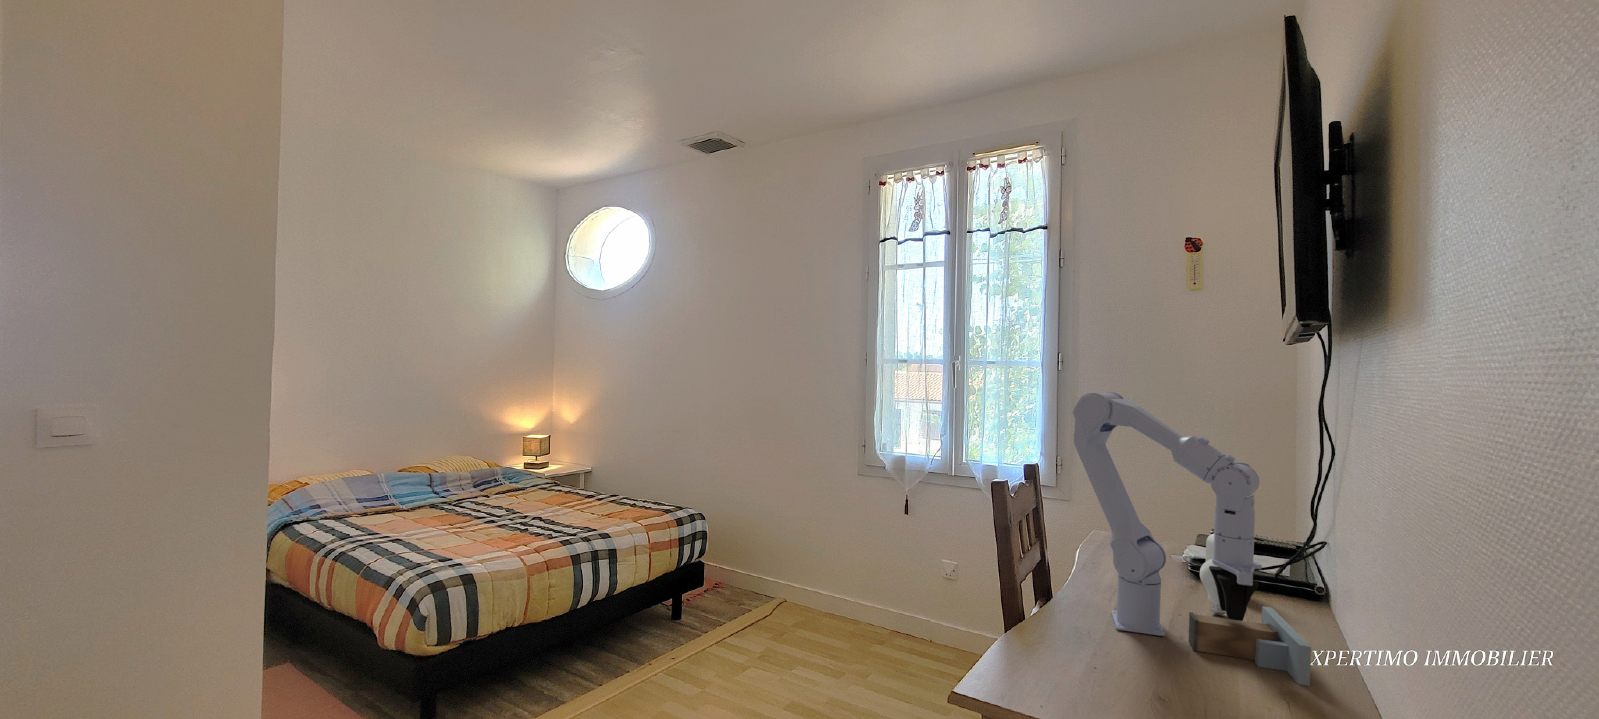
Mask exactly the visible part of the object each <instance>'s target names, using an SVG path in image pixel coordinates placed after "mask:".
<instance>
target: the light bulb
mask: <svg viewBox="0 0 1599 719" xmlns="http://www.w3.org/2000/svg"><path fill="white" fill-rule="evenodd" d="M1209 566H1216V565H1215V564H1213V563H1212V559H1210V560H1208V561H1206V560H1205V562H1204V563H1203V564H1202V565H1201V566H1200V569H1199V577H1200V578H1199V579H1200V581H1201V583H1202V585H1203V587H1204V588H1205V590H1206V592H1207V595H1208V601H1209V602H1210V603H1209V611H1210V612H1211V613H1213V614H1214V615H1216V616H1223V615H1227V614H1226V611H1222V610H1221V607H1220V603H1219V598H1218V593H1217V588H1216V584H1215V581H1214V578H1213V576H1212V573H1211V571H1210V569H1209ZM1216 567H1219V566H1216Z"/></svg>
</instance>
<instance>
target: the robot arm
mask: <svg viewBox="0 0 1599 719" xmlns="http://www.w3.org/2000/svg"><path fill="white" fill-rule="evenodd" d="M1072 414H1073V417H1074V431H1073V432H1074V434H1073V443H1074V447H1075V450H1076V453H1077V455H1078V457H1079V459H1080V461H1081V464H1082V465H1083V468H1084V470H1085V472H1086V476H1087V477H1088V480H1089V482H1090V484H1091V487H1092V489H1093V491H1094V493H1095V496H1096V497H1097V500H1098V502H1099V504H1100V507H1101V509H1102V511H1103V514H1104V516H1105V518H1106V521H1107V523H1108V526H1109V527H1110V530H1111V535H1110V542H1109V544H1110V548H1111V549H1112V554H1113V556H1112V557H1113V558H1112V562H1113V567H1114V570H1116V572H1117V586H1116V587H1117V589H1116V590H1117V592H1116V593H1117V594H1116V610H1114V609H1113V610H1112V609H1111V611H1110V612H1111V616H1112V619H1113V623H1114V626H1115V629H1116V630H1119V631H1125V632H1132V633H1139V634H1147V635H1150V636H1151V635H1153V636H1159V637H1166V633H1165V630H1164V629H1163V626H1162V624H1161V623H1160V622H1161V598H1162V597H1161V596H1162V595H1161V594H1162V593H1161V589H1162V577H1161V574H1160V571H1161V570H1162V569H1164V567H1165V565H1166V563H1167V554H1166V551H1165V549H1164V548H1163V546H1162V545H1161V544H1160V543H1159V542H1158V541H1157V540H1156V539H1155V538H1154V537H1153V535H1152V532H1151V531H1150V530H1149V528H1148V527H1146V525H1144V524H1143V523H1142V522H1141V521H1140V518H1139V516H1138V513H1137V512H1136V509H1135V507H1134V504H1133V503H1132V501H1131V498H1130V495H1129V494H1128V491H1127V490H1126V487H1125V485H1124V482H1123V481H1122V477H1121V476H1120V474H1119V472H1118V469H1117V466H1116V465H1115V463H1114V460H1113V458H1112V456H1111V454H1110V452H1109V449H1108V447H1107V443H1108V442H1107V441H1108V439H1109V438H1110V436H1111V434H1112V432H1113V430H1114V429H1115V428H1116V427H1118V426H1121V427H1131V428H1133V429H1134V430H1136V431H1138V432H1139V433H1141V434H1143V435H1144V436H1146V437H1147V438H1149V439H1151V440H1153V441H1154V442H1156V443H1157V444H1159V445H1161V446H1162V447H1164V448H1165V449H1167V450H1169V451H1170V452H1171V455H1172V458H1173V461H1174V462H1175V463H1176V464H1178V465H1179V466H1181V467H1182V468H1184V469H1185V470H1187V471H1188V472H1190V473H1191V474H1192V475H1194V476H1196V477H1198V478H1199V479H1201V480H1202V481H1204V483H1207V484H1210V487H1211V490H1212V491H1213V492H1214V494H1215V506H1214V532H1213V534H1214V556H1213V557H1212V563H1213V564H1215V565H1216V566H1219V567H1216V566H1209V569H1210V571H1211V573H1212V576H1213V578H1214V581H1215V584H1216V588H1217V593H1218V598H1219V603H1220V607H1221V610H1222V611H1226V614H1225V615H1226V617H1227V619H1231V620H1238V621H1244V619H1245V616H1246V612H1247V608H1248V605H1249V603H1250V600H1251V598H1252V596H1253V594H1254V593H1255V591H1256V590H1257V589H1258V588H1259V585H1260V584H1259V582H1258V581H1256V580H1253V579H1254V574H1253V572H1254V571H1255V570H1262V566H1263V565H1262V564H1261V563H1260V562H1258V561H1254V559H1255V558H1254V555H1255V554H1254V552H1255V520H1256V516H1255V515H1256V511H1255V494H1254V493H1255V492H1256V491H1258V488H1259V485H1260V476H1259V475H1258V473H1257V471H1256V470H1255V469H1253V468H1252V467H1251V466H1250V464H1248V463H1245V462H1241V461H1236V457H1235V456H1233V455H1231V454H1230V455H1226V454H1225V453H1223V452H1221V451H1220V450H1219V449H1217V448H1215V447H1213V446H1212V445H1210V444H1209V442H1210V440H1209V439H1208V438H1206V437H1205V436H1201V437H1198V436H1196V435H1189V436H1188V435H1187V436H1183V435H1182V434H1180V433H1179V432H1178V431H1176V430H1174V429H1173V428H1171V427H1170V426H1168V425H1167V424H1165V423H1164V422H1163V421H1161V420H1160V419H1158V418H1157V417H1156V416H1154V415H1153V414H1151V413H1150V412H1149V411H1147V410H1145V409H1144V408H1143V407H1141V406H1140V405H1138V404H1137V403H1136V402H1134V401H1132V400H1131V399H1128V398H1124V397H1123V395H1121V394H1119V393H1117V392H1114V391H1113V392H1112V391H1107V392H1088V393H1085V394H1083V395H1082V396H1081V397H1080V398H1079V400H1078V401H1077V403H1076V405H1075V406H1074V408H1073V410H1072ZM1235 461H1236V462H1235ZM1253 494H1254V495H1253Z"/></svg>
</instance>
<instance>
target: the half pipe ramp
mask: <svg viewBox="0 0 1599 719" xmlns="http://www.w3.org/2000/svg"><path fill="white" fill-rule="evenodd" d="M1188 614H1189V615H1188V616H1189V617H1188V618H1189V619H1188V644H1189V643H1190V644H1189V646H1190V647H1191V649H1192V651H1194V652H1203V653H1208V654H1215V655H1222V656H1226V657H1227V656H1228V657H1232V656H1233V658H1239V657H1242V658H1241V659H1246V660H1252V661H1256V639H1262V640H1269V641H1276V642H1278V631H1277V630H1276V629H1275V628H1274V627H1273V626H1272V625H1271V624H1269V623H1266V624H1262V623H1259V622H1257V623H1256V622H1250V621H1244V620H1243V621H1239V620H1231V619H1228V618H1223V617H1215V616H1211V615H1210V616H1209V615H1202V614H1197V613H1196V614H1195V613H1194V612H1189V613H1188Z"/></svg>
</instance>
